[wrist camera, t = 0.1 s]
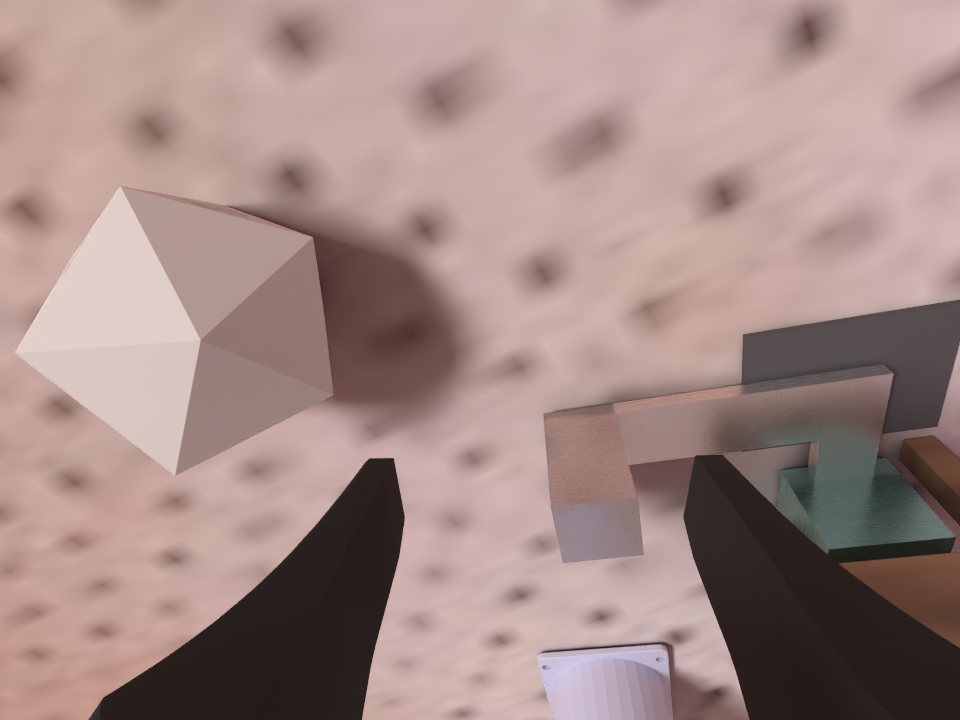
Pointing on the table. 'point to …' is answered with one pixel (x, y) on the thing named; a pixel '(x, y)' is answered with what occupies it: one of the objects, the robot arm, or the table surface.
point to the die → (185, 326)
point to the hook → (736, 427)
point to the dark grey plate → (869, 356)
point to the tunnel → (930, 578)
